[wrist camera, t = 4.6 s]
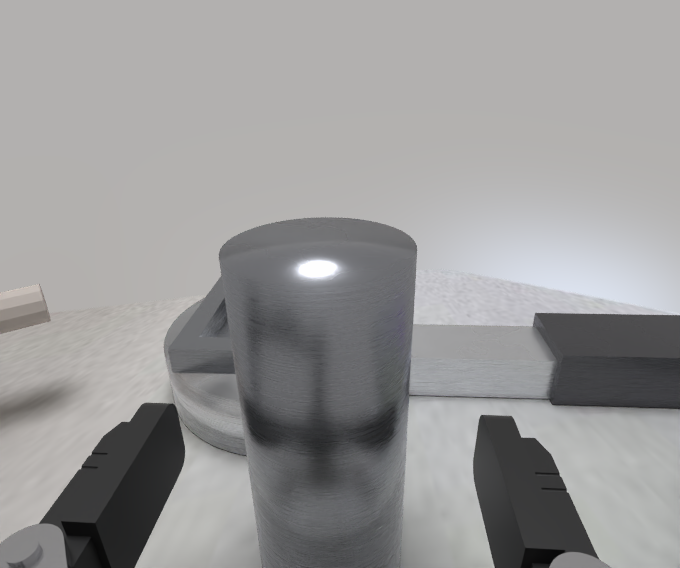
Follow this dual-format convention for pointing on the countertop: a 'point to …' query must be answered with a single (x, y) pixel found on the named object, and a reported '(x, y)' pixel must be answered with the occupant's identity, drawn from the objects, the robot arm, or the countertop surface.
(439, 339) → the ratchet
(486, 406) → the countertop surface
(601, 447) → the countertop surface
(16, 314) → the pipe connector
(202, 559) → the countertop surface
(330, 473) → the grey glossy cylinder
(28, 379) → the countertop surface
